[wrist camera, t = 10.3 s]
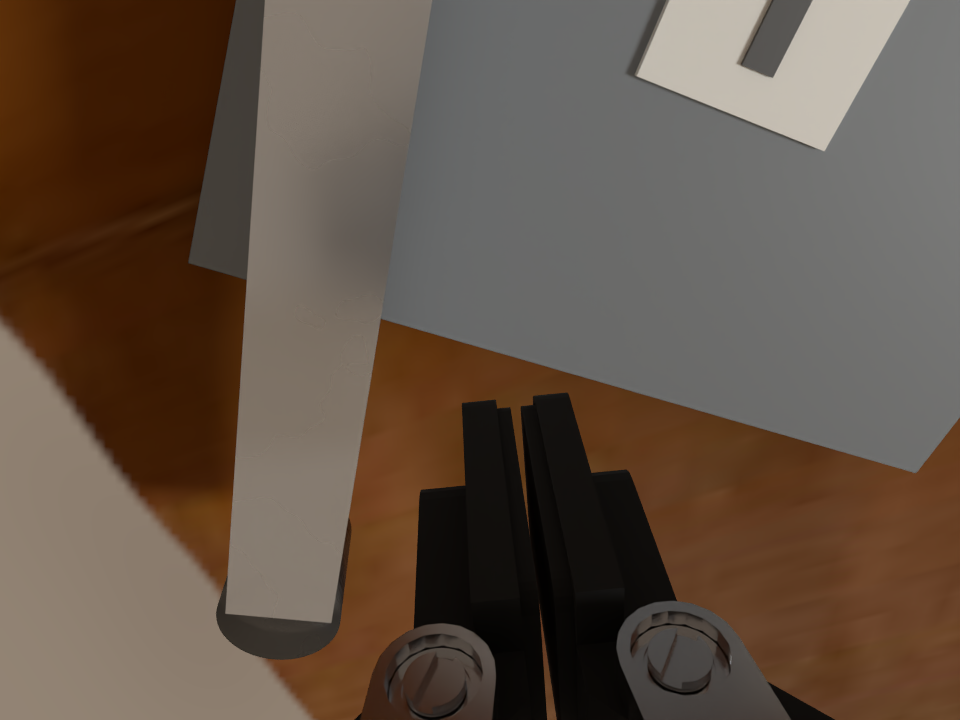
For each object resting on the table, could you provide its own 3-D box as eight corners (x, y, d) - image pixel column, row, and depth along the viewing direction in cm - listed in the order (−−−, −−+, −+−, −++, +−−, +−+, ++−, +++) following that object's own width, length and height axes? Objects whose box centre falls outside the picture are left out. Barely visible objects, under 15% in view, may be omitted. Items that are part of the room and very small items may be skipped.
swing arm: (291, -474, 10) (246, -629, 8) (532, -393, 11) (568, -511, 8) (226, 561, 19) (196, 652, 17) (359, 574, 20) (349, 665, 17)
